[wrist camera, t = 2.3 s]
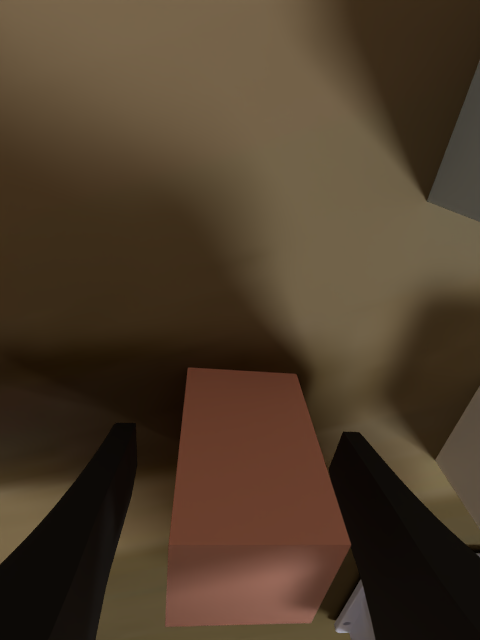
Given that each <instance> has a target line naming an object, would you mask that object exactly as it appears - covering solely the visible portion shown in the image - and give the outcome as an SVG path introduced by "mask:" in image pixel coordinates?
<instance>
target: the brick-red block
mask: <svg viewBox="0 0 480 640" xmlns="http://www.w3.org/2000/svg"><path fill="white" fill-rule="evenodd" d="M350 547H351V542H350V539H349V536H348V533H347V530H346V527H345V524H344V521H343V517H342V514H341V511H340V508H339V505H338V502H337V499H336V496H335V493H334V489H333V486H332V483H331V480H330V477H329V474H328V471H327V468H326V464H325V461H324V458H323V455H322V452H321V449H320V446H319V443H318V440H317V436H316V433H315V430H314V427H313V424H312V421H311V418H310V415H309V411H308V408H307V405H306V402H305V399H304V396H303V393H302V390H301V387H300V383H299V380H298V377H297V374H290V373H273V372H256V371H240V370H223V369H206V368H189V367H188V371H187V380H186V389H185V399H184V408H183V417H182V426H181V436H180V445H179V454H178V463H177V473H176V482H175V491H174V500H173V509H172V519H171V528H170V537H169V549H168V573H167V598H166V622H165V627H177V626H214V625H251V624H289V623H311V622H312V620H313V618H314V616H315V614H316V612H317V610H318V608H319V606H320V604H321V603H322V601H323V599H324V597H325V595H326V593H327V591H328V589H329V587H330V585H331V583H332V581H333V579H334V577H335V576H336V574H337V572H338V570H339V568H340V566H341V564H342V562H343V560H344V558H345V556H346V554H347V552H348V550H349V549H350Z"/></svg>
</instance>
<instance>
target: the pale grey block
mask: <svg viewBox="0 0 480 640" xmlns="http://www.w3.org/2000/svg"><path fill="white" fill-rule="evenodd" d="M435 461H436V463H437V464H438V466H439V467H440V469H441V470H442V472H443V473H444V475H445V476H446V478H447V480H448V481H449V483H450V484H451V486H452V487H453V489H454V490H455V492H456V493H457V495H458V497H459V498H460V500H461V501H462V503H463V504H464V506H465V507H466V509H467V510H468V512H469V514H470V515H471V517H472V518H473V520H474V521H475V523H476V524H477V526H478V528H479V529H480V386H479V388H478V389H477V391H476V393H475V394H474V396H473V398H472V399H471V401H470V403H469V404H468V406H467V408H466V409H465V411H464V413H463V414H462V416H461V418H460V419H459V421H458V423H457V424H456V426H455V428H454V429H453V431H452V433H451V434H450V436H449V438H448V439H447V441H446V443H445V444H444V446H443V448H442V449H441V451H440V453H439V454H438V456H437V458H436V459H435Z"/></svg>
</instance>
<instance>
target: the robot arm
mask: <svg viewBox="0 0 480 640" xmlns="http://www.w3.org/2000/svg"><path fill="white" fill-rule="evenodd" d="M136 468H137V445H136V423H116V424H114V425H113V427H112V429H111V430H110V432H109V434H108V435H107V437H106V438H105V440H104V442H103V443H102V445H101V446H100V448H99V449H98V450H97V452H96V453H95V455H94V456H93V458H92V459H91V461H90V462H89V463H88V465H87V466H86V467H85V469H84V470H83V471H82V473H81V474H80V475H79V477H78V478H77V479H76V481H75V482H74V483H73V485H72V486H71V487H70V488H69V489H68V491H67V492H66V493H65V494H64V496H63V497H62V498H61V499H60V500H59V502H58V503H57V504H56V505H55V507H54V508H53V509H52V510H51V511H50V512H49V514H48V515H47V516H46V517H45V518H44V519H43V520H42V522H41V523H40V524H39V525H38V526H37V527H36V528H35V529H34V530H33V531H32V532H31V534H30V535H29V536H28V537H27V538H26V539H25V540H24V541H23V542H22V543H21V544H20V545H19V546H18V547H17V548H16V549H15V550H14V551H13V552H12V553H11V554H10V555H9V556H8V557H7V558H6V559H5V560H4V561H3V562H2V563H1V564H0V640H95V639H96V634H97V629H98V624H99V619H100V614H101V609H102V604H103V599H104V594H105V589H106V585H107V581H108V577H109V573H110V569H111V565H112V562H113V559H114V555H115V552H116V548H117V545H118V541H119V538H120V534H121V531H122V527H123V524H124V520H125V517H126V513H127V510H128V506H129V503H130V499H131V495H132V490H133V485H134V479H135V474H136ZM329 473H330V478H331V483H332V486H333V489H334V493H335V496H336V499H337V502H338V505H339V508H340V511H341V514H342V517H343V521H344V524H345V527H346V530H347V533H348V536H349V539H350V542H351V549H352V552H353V555H354V558H355V561H356V564H357V567H358V571H359V574H360V577H361V580H360V581H359V583H358V585H357V586H356V588H355V590H354V591H353V593H352V595H351V596H350V598H349V600H348V602H347V603H346V605H345V607H344V608H343V610H342V612H341V613H340V615H339V617H338V618H337V620H336V622H335V624H334V626H335V630H336V632H338V633H350V637H351V640H480V553H475V552H473V551H472V550H471V549H470V548H469V547H468V546H467V545H465V544H464V543H463V542H462V541H461V540H460V539H459V538H458V537H457V536H456V535H455V534H453V533H452V532H451V531H450V530H449V529H448V528H447V527H446V526H445V525H444V524H443V523H442V522H441V521H440V520H439V519H438V518H437V517H435V515H434V514H433V513H432V512H431V511H430V510H429V509H428V508H427V507H426V506H425V505H424V504H423V503H422V502H421V501H420V500H419V499H418V498H417V497H416V496H415V495H414V494H413V493H412V492H411V491H410V490H409V489H408V487H407V486H406V485H405V484H404V483H403V482H402V481H401V480H400V479H399V477H398V476H397V475H396V474H395V473H394V472H393V471H392V470H391V468H390V467H389V466H388V465H387V464H386V463H385V461H384V460H383V459H382V458H381V457H380V456H379V455H378V453H377V452H376V451H375V450H374V449H373V447H372V446H371V445H370V444H369V443H368V442H367V440H366V439H365V438H364V437H363V436H362V435H361V434H360V432H343V433H342V436H341V439H340V441H339V444H338V446H337V449H336V452H335V454H334V457H333V460H332V462H331V465H330V467H329Z"/></svg>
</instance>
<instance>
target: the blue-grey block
mask: <svg viewBox="0 0 480 640" xmlns="http://www.w3.org/2000/svg"><path fill="white" fill-rule="evenodd" d="M427 202H430V203H433V204H435V205H438V206H440V207H443V208H445V209H448V210H451V211H453V212H456V213H458V214H461V215H464V216H466V217H469V218H471V219H474V220H476V221H479V222H480V61H479V63H478V66H477V69H476V71H475V74H474V77H473V79H472V82H471V85H470V87H469V90H468V93H467V95H466V98H465V101H464V103H463V106H462V109H461V111H460V114H459V117H458V119H457V122H456V125H455V127H454V130H453V133H452V135H451V138H450V141H449V143H448V146H447V149H446V152H445V154H444V157H443V160H442V162H441V165H440V168H439V170H438V173H437V176H436V178H435V181H434V184H433V186H432V189H431V192H430V194H429V197H428V200H427Z"/></svg>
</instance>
